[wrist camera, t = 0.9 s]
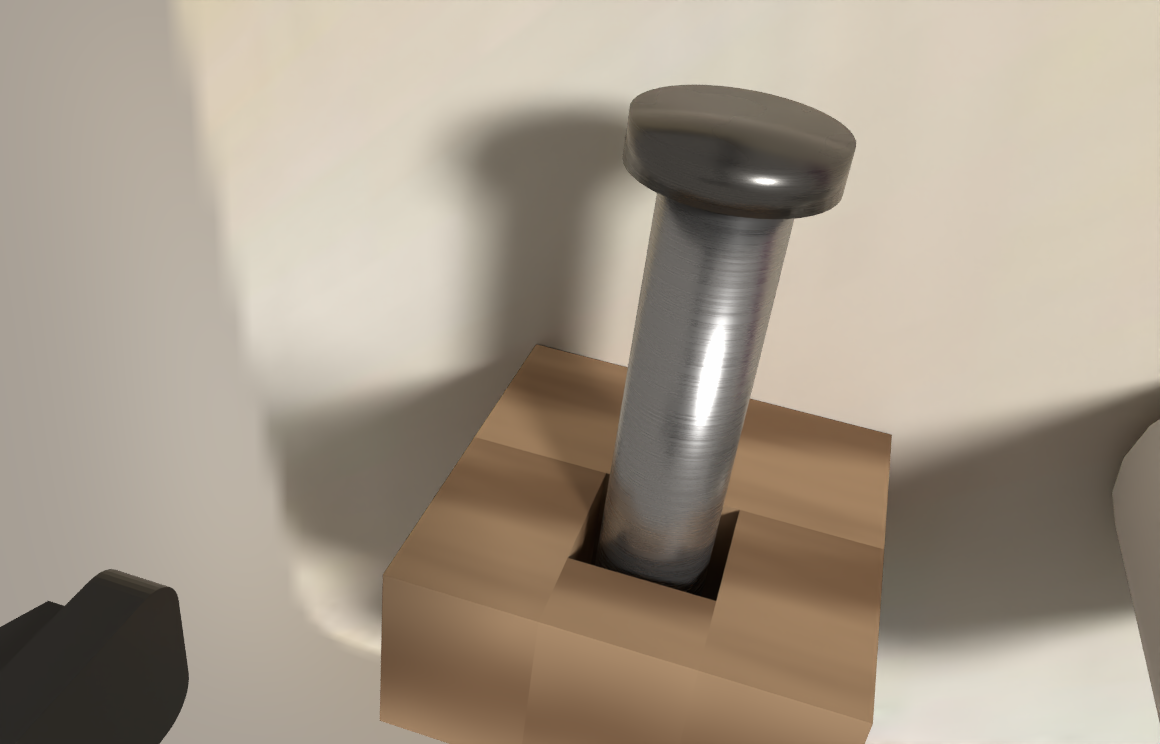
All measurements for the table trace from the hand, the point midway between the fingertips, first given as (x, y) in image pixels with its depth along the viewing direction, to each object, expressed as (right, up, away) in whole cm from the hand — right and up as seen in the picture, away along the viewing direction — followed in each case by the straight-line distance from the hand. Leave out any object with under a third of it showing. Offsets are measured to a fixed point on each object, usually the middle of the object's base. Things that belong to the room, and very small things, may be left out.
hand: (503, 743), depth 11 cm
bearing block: (+4, +1, +22) cm, 22 cm away
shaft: (+3, +2, +16) cm, 17 cm away
